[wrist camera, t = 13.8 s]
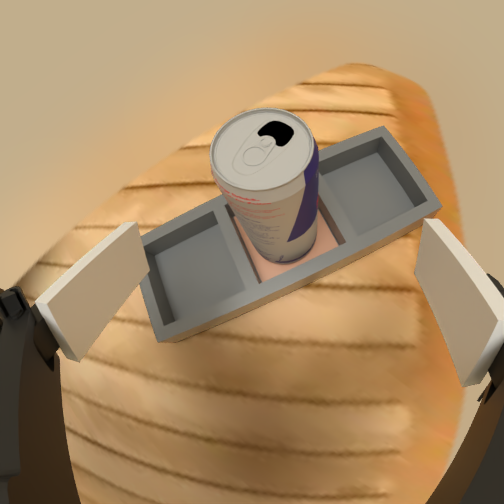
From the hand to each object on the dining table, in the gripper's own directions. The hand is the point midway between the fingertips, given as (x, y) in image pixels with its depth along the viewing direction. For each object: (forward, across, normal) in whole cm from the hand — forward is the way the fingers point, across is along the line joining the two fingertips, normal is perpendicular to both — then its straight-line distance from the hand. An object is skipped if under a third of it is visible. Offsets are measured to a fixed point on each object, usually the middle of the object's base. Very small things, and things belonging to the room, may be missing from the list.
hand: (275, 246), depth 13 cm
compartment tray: (+11, 0, -5) cm, 12 cm away
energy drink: (+11, -1, -5) cm, 12 cm away
